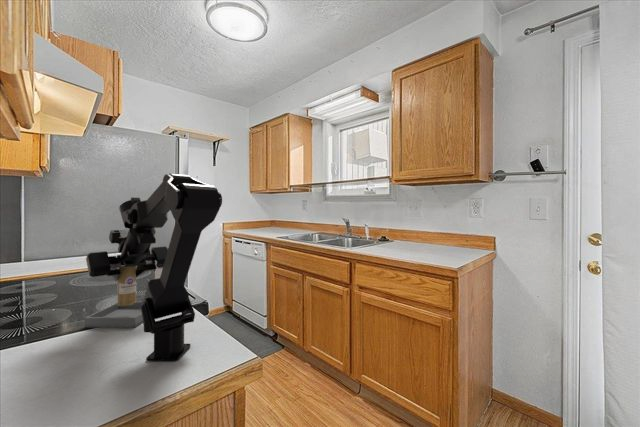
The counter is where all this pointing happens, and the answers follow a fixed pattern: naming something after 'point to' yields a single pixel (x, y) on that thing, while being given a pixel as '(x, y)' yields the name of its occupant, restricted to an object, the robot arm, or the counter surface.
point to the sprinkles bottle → (126, 286)
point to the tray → (116, 317)
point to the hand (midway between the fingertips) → (125, 278)
